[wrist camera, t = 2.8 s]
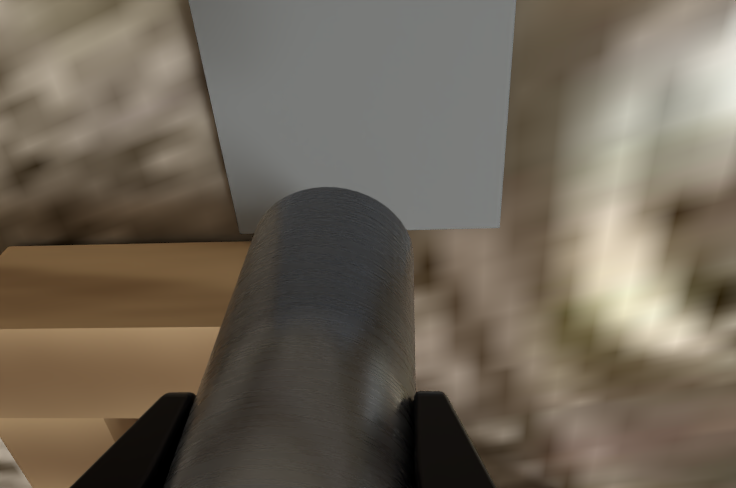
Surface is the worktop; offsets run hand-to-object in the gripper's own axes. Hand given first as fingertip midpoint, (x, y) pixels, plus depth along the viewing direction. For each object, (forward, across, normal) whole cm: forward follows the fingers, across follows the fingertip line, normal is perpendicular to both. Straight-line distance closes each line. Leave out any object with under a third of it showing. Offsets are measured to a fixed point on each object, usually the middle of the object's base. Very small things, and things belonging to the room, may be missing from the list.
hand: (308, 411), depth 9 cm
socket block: (+10, +6, +10) cm, 16 cm away
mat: (+10, 0, 0) cm, 10 cm away
